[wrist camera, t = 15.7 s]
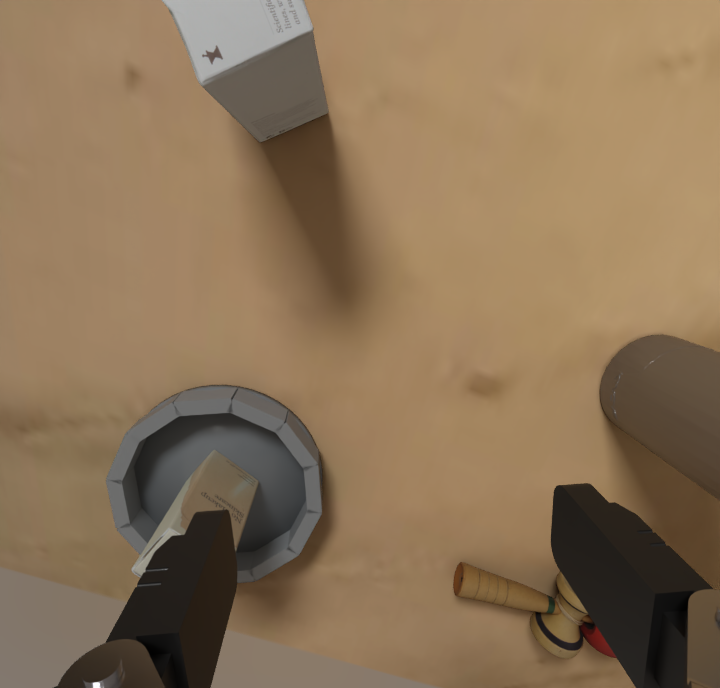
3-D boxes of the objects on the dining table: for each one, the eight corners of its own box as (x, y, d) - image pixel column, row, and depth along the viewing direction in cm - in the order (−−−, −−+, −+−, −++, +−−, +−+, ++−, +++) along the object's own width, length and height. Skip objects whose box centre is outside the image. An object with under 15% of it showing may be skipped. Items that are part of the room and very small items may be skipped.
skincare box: (330, 114, 35) (327, 39, 21) (255, 146, 35) (201, 94, 21) (282, -9, 33) (242, -188, 18) (203, 27, 33) (104, -122, 19)
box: (261, 481, 41) (235, 572, 31) (231, 514, 42) (195, 615, 31) (211, 446, 40) (167, 527, 29) (181, 481, 41) (127, 573, 30)
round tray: (315, 378, 40) (313, 391, 37) (328, 551, 44) (328, 576, 41) (108, 391, 39) (89, 406, 36) (142, 566, 44) (128, 592, 41)
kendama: (440, 597, 48) (613, 646, 48) (450, 638, 42) (649, 696, 41) (461, 525, 48) (635, 574, 47) (474, 556, 41) (675, 613, 41)
